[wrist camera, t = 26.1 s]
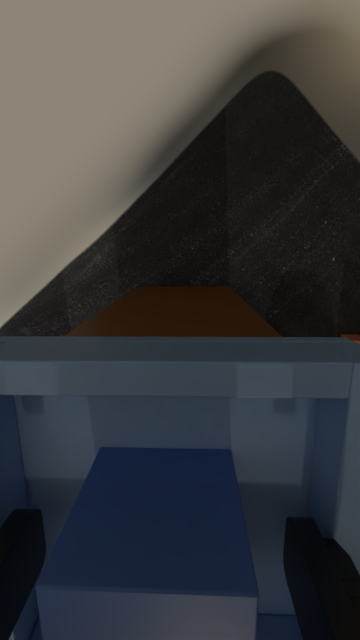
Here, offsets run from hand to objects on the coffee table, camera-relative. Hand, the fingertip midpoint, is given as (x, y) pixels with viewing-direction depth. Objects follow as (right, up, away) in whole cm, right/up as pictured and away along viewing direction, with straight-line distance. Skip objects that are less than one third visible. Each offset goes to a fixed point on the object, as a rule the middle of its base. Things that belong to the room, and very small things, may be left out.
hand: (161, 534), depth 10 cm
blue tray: (+1, +6, +25) cm, 26 cm away
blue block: (0, 0, +1) cm, 1 cm away
